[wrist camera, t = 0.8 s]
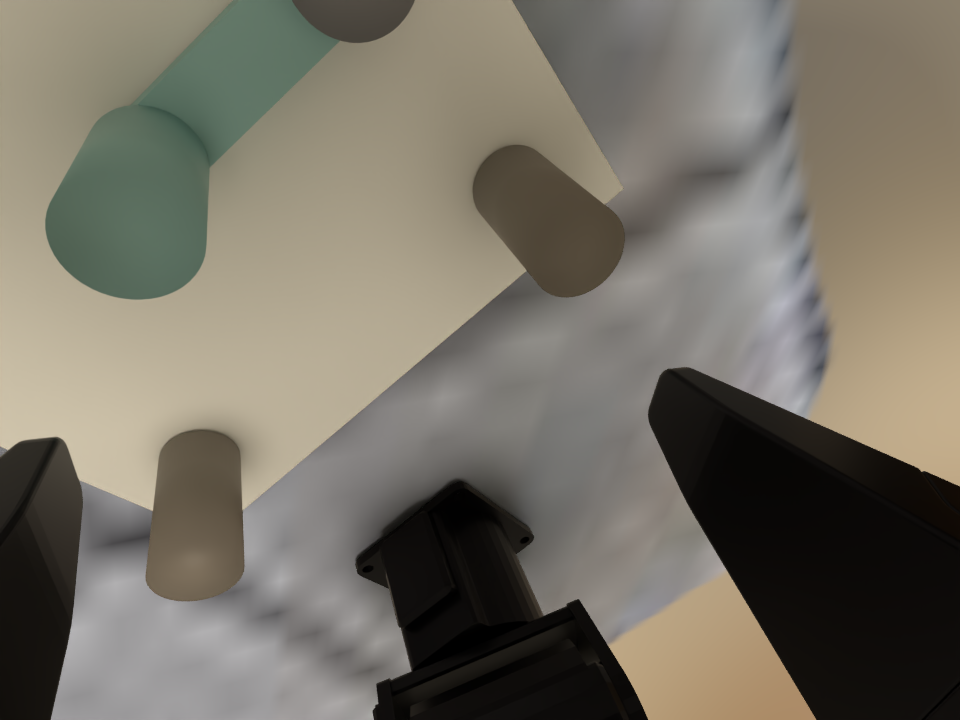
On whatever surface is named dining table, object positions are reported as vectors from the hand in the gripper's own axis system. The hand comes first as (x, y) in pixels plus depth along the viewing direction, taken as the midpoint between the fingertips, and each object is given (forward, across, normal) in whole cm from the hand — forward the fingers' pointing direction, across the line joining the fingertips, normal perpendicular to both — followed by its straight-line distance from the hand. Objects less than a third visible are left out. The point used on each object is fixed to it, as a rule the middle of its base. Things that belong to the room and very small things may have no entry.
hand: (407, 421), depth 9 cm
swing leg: (+10, +2, -3) cm, 10 cm away
